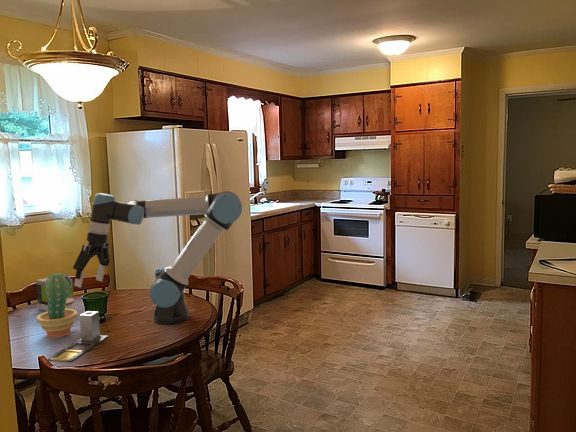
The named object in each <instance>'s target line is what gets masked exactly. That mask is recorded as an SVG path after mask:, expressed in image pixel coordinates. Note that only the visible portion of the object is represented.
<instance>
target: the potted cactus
mask: <svg viewBox="0 0 576 432" xmlns="http://www.w3.org/2000/svg"><path fill="white" fill-rule="evenodd" d="M46 278H47V280H46V282H45V284H44V285H45V292H46V296H47V299H48V312H46V311H43V312H42V313H40V314H37V316H36V318H35V320H36V322H37V323H39V324H40V326H41V328H42V329H43V331H44V332H45V333H46V337H48V338H59V337H60V338H61V337H64V336H67V335H69V334H71V332H72V330H71V328H72V327H73V325H74V322H75V320H76V318H77V316H78V310H76V309H75V308H74V309H65V305H66V299H67V297H68V294H69V285H70V287H71V286H72V284H71V283H72V281H71V279H72V278H71V277H70V276H69V275H68V274H62V272H59V273H57V272H54V273H50V274H49V276H48V277H46Z"/></svg>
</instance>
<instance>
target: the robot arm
mask: <svg viewBox="0 0 576 432" xmlns="http://www.w3.org/2000/svg"><path fill="white" fill-rule="evenodd" d="M115 199H116V198H115V196H114V195H112V194H109V193H102V192H98V193H96V194H95V196H94V198H93V203H92V208H91V212H90V213H91V214H90V220H89V225H88V230H89V231H87V234H86V235H87V236H86V241H87V242H88V244H82V247H81V250H80V252H79V254H78V256H77V258H76V260H75V262H74V265H73V266H72V269H74V270H75V277H74V278H75V279H74V283H73V287H77V288H82V287H83V286H82V285H83V281H84V274H85V270H84V269H85V268H86V266H87V265H88V263H89V261H91V258H94V257H95V256H96V257H97V259H98V262H99V264H98V266H97V272H96V275H95V276H96V277H95V281H98V282H103V280H104V274H105V270H106V267H109V264H110V262H111V261H110V253H109V243H108V242H107V241H108V236H109V235H108V234H109V232H110V225H111V221H117V222H122V223H127V224H131V225H137V226H138V225H141V224H142V223H143V221H144V219H147V218H148V219H150V218H165V217H180V216H196V215H197V216H198V215H204V220H203V222H202V223H201V224H200V225H199V227H198V228H197V230H196V231H195V232H194V233H193V235H192V236H191V238H190V239H189V241H188V242H187V243H186V245H185V246H184V248H183V249H182V251H181V252H180V253H179V255H178V256H177V257H176V258H175V260H174V261H173V262H172V264H171V265H170V266H164V267H158V268H156V269H155V271H154V276H155V280H154V282H153V283H152V285H151V286H150V289H149V295H150V296H149V297H150V300H151V301H152V303H154V305H155V308H154V312H153V322H154V323H156V324H160V325H161V324H162V325H172V324H177V323H178V324H179V323H182V322H185V321H186V320H189V317H190V313H189V310H188V306H187V304H186V302H185V293H184V291H185V289H186V288H187V287H188V285H189V278H190V276H191V275H192V274H193V272H194V271H195V269H196V268H197V266H199V264H200V263H201V261H203V260H202V259H204V257H205V256H206V254H208V251H209V250H210V249H211V247H212V246H214V243H215V242H216V241H217V240H218V238H219V236H220V235H221V234H222V233H223V232H227V231H229V229H230V228H231V227H232V225H234V223H235V222H236V221H237V220H238V219H239V218H240V217H241V215H242V212H243V211H242V210H243V205H242V202H241V199H240V198H239V196H238V195H237V194H236V193H234V192H232V191H227V190H226V191H221V192H216V193H207V194H206V195H205V196H195V197H193V196H192V197H179V198H178V197H177V198H176V197H175V198H164V199H163V198H162V199H147V200H137V199H136V200H131V201H128V202H120V201H116V200H115Z"/></svg>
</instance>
